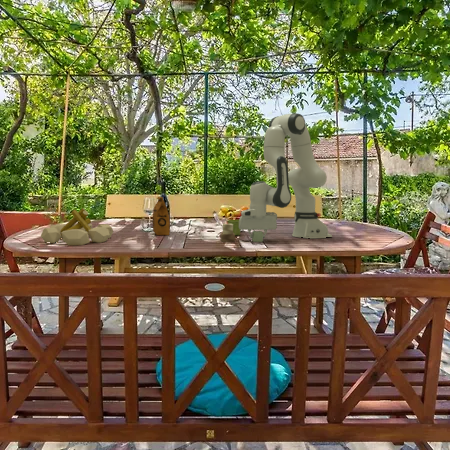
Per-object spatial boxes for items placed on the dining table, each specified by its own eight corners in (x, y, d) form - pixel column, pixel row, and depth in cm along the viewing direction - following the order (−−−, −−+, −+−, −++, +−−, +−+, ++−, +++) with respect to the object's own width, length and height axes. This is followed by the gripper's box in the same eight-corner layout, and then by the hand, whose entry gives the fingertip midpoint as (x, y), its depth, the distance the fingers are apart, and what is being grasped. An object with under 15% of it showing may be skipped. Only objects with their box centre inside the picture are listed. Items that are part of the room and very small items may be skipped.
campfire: (124, 237, 227) (123, 207, 225) (88, 247, 195) (87, 212, 193) (70, 234, 237) (69, 205, 235) (27, 244, 204) (25, 210, 202)
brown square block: (233, 240, 220) (233, 232, 220) (234, 242, 214) (234, 234, 213) (220, 240, 220) (220, 232, 219) (221, 242, 213) (221, 234, 213)
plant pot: (223, 235, 237) (224, 220, 236) (231, 233, 245) (231, 219, 244) (238, 236, 233) (238, 221, 232) (245, 234, 241) (245, 220, 240)
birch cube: (232, 232, 219) (232, 223, 218) (232, 234, 214) (233, 224, 213) (222, 232, 219) (222, 223, 218) (223, 234, 214) (223, 224, 213)
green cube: (261, 240, 221) (261, 231, 220) (262, 241, 216) (262, 232, 215) (252, 240, 220) (252, 231, 220) (253, 241, 215) (253, 232, 215)
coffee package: (153, 236, 233) (153, 197, 230) (152, 232, 245) (151, 196, 242) (171, 235, 235) (170, 197, 232) (168, 232, 247) (168, 196, 244)
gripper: (276, 211, 220) (275, 237, 222) (238, 211, 218) (238, 237, 220) (278, 212, 214) (277, 238, 215) (239, 212, 212) (239, 238, 214)
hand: (257, 237), depth 218 cm, fingers closed on green cube, 5 cm apart
